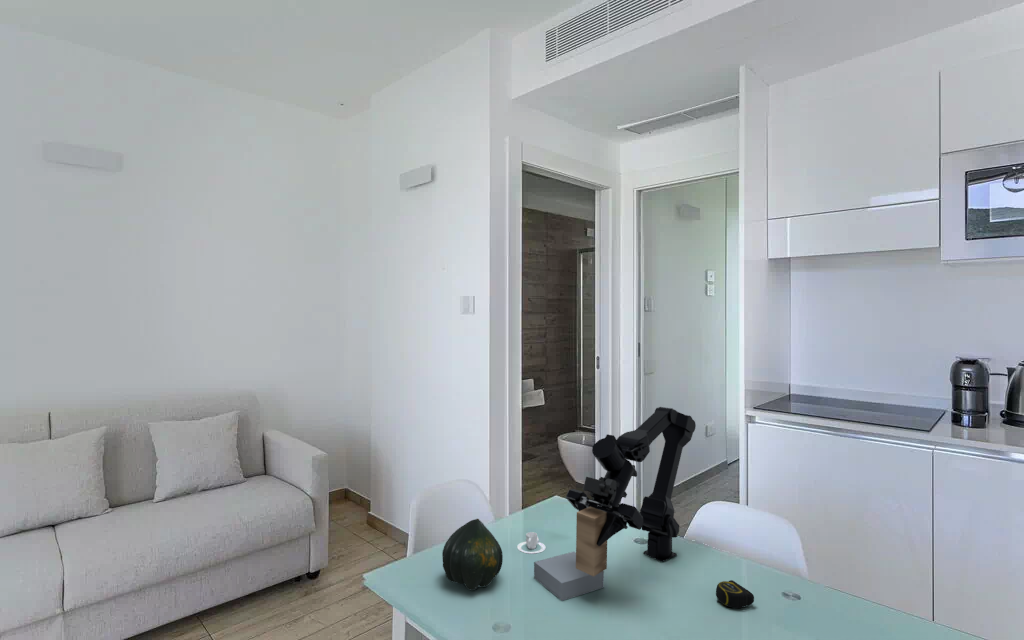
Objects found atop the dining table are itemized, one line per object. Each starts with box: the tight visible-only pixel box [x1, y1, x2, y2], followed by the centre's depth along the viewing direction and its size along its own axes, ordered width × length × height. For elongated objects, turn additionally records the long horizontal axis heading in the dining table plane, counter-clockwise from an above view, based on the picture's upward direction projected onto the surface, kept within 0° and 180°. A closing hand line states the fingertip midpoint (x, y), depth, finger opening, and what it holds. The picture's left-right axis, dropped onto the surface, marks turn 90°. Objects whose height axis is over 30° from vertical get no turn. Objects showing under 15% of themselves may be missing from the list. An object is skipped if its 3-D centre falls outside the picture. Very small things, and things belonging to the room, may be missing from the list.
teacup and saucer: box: [516, 531, 547, 555], centre depth 149 cm, size 9×8×4 cm
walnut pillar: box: [575, 507, 608, 577], centre depth 121 cm, size 5×5×13 cm
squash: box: [441, 518, 504, 591], centre depth 130 cm, size 14×15×15 cm
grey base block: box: [533, 550, 605, 602], centre depth 129 cm, size 12×12×4 cm
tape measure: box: [715, 579, 755, 609], centre depth 120 cm, size 7×7×4 cm
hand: (588, 541), depth 120 cm, fingers closed on walnut pillar, 5 cm apart
